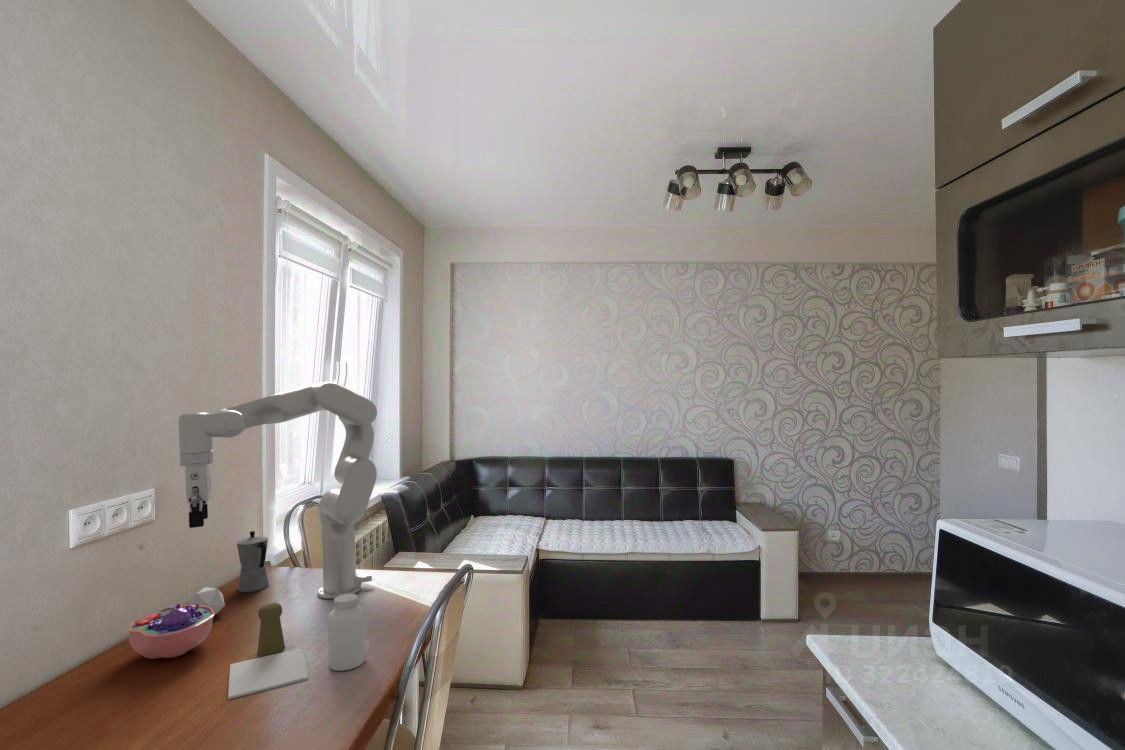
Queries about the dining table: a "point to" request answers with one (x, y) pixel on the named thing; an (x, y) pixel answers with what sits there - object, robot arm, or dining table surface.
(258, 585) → the coffeepot
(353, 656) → the pill bottle
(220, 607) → the die
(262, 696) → the dining table surface
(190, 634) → the cell model
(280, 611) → the cork
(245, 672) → the mat
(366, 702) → the dining table surface
